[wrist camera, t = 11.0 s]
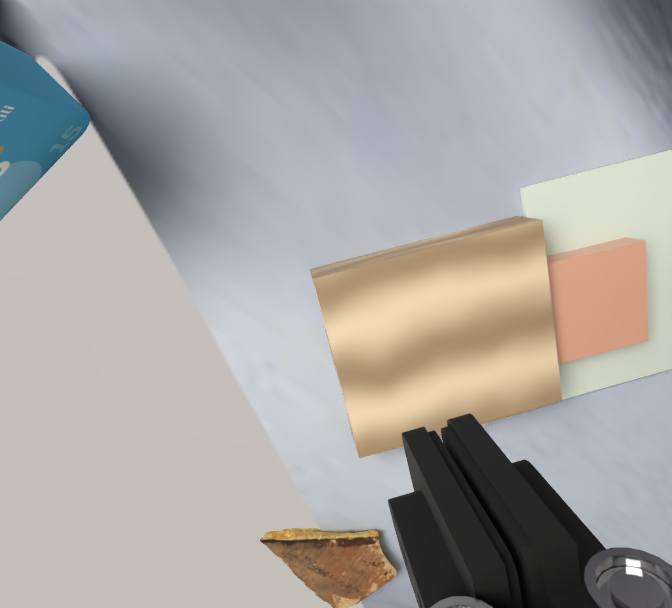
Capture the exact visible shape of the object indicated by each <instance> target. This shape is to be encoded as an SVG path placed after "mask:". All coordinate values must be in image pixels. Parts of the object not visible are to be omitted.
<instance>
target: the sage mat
mask: <svg viewBox="0 0 672 608" xmlns="http://www.w3.org/2000/svg"><path fill="white" fill-rule="evenodd" d="M520 194H521V202H522V210H523V217H527V218H534V219H542V221H543V230H544V239H545V248H546V256H550V255H554V254H558V253H563V252H567V251H571V250H575V249H579V248H583V247H587V246H592V245H596V244H600V243H604V242H608V241H612V240H617V239H621V238H625V237H627V238H634V239H640V240H646V272H647V308H648V341H646V342H642V343H638V344H634V345H630V346H626V347H622V348H618V349H614V350H611V351H607V352H603V353H599V354H595V355H591V356H587V357H583V358H579V359H575V360H571V361H567V362H564V363H560V364H558V366H559V375H560V384H561V393H562V400H563V399H567V398H570V397H574V396H577V395H581V394H584V393H588V392H592V391H595V390H599V389H602V388H606V387H609V386H613V385H616V384H620V383H624V382H627V381H631V380H634V379H638V378H641V377H645V376H648V375H652V374H656V373H659V372H663V371H666V370H670V369H672V149H670V150H667V151H663V152H659V153H655V154H651V155H647V156H643V157H639V158H635V159H631V160H627V161H623V162H619V163H615V164H611V165H608V166H604V167H600V168H596V169H592V170H588V171H584V172H580V173H576V174H572V175H568V176H564V177H560V178H556V179H552V180H549V181H545V182H541V183H537V184H533V185H529V186H525V187H521V188H520Z"/></svg>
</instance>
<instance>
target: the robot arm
mask: <svg viewBox="0 0 672 608" xmlns="http://www.w3.org/2000/svg"><path fill="white" fill-rule="evenodd" d="M441 435H442V440H443V442H442V441H441V439H440V437H439V436H438V434H437V432H436V431H435V430H433V431H429V432H427V430H426V428H425V427H420V428H417V429H413V430H410V431H406V432H403V433H402V440H403V445H404V449H405V453H406V458H407V462H408V466H409V470H410V475H411V479H412V483H413V488H414V492H412V493H409V494H406V495H402V496H399V497H395V498H392V499H389V500H388V503H389V508H390V512H391V516H392V519H393V523H394V527H395V531H396V535H397V538H398V542H399V545H400V549H401V552H402V555H403V559H404V562H405V565H406V568H407V571H408V574H409V578H410V581H411V584H412V587H413V590H414V593H415V596H416V599H417V602H418V605H419V608H672V566H671V565H670V564H668V563H667V562H665V561H664V560H662V559H660V558H659V557H657V556H654V555H652V554H649V553H647V552H644V551H642V550H637V549H631V548H610V549H606V548H605V547H604V546H603V545H602V544H601V543H600V542H599V541H598V539H597V538H596V537H595V536H594V535H593V534H592V533H591V531H590V530H589V529H588V528H587V527H586V526H585V525H584V523H583V522H582V521H581V520H580V519H579V518H578V517H577V515H576V514H575V513H574V512H573V511H572V510H571V509H570V507H569V506H568V505H567V504H566V503H565V502H564V501H563V499H562V498H561V497H560V496H559V495H558V494H557V493H556V491H555V490H554V489H553V488H552V487H551V486H550V485H549V483H548V482H547V481H546V480H545V479H544V478H543V477H542V475H541V474H540V473H539V472H538V471H537V470H536V469H535V467H534V466H533V465H532V464H531V463H530V462H529V461H527V460H521V461H518V462H515V463H511V462H510V461H509V459H508V458H507V457H506V456H505V454H504V453H503V452H502V451H501V449H500V448H499V447H498V446H497V444H496V443H495V442H494V441H493V439H492V438H491V437H490V436H489V435H488V433H487V432H486V431H485V430H484V428H483V427H482V426H481V425H480V423H479V422H478V421H477V420H476V418H475V417H474V416H473V415H472V414H470V413H469V414H465V415H462V416H458V417H455V418H451V419H448V420H447V427H443V428H441Z"/></svg>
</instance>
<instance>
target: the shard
mask: <svg viewBox="0 0 672 608" xmlns="http://www.w3.org/2000/svg"><path fill="white" fill-rule="evenodd" d="M260 541H261V542H262V543H263V544H265V545H266V546H267V547H268V548H269V549H270V550H271V551H272V552H273V553H274V554H275V555H277V556H278V557H279V558H281V559H282V561H284V562H285V564H287V566H289V568H290V569H291V570H292V571H293V572H294V574H295V575H296V576H297V577H298V578H300V579H301V580H302V581H303V582H304V583H305V585H306V586H307V587H308V588H309V589H310V590H312V591H314V593H315V594H316V595H317V596H318V597H320V598H321V599H322V600H323V601H325V602H328V603H329V604H330V605H331V606H332V607H333V608H347V607H350V606H353V605H355V604H357V603H359V602H360V601H361V600H363V599H365V598H366V597H367V596H368V595H369V594H371V593H373V592H374V591H375V590H377V589H378V588H379V587H381V586H382V585H383V584H385V583H387V582H389V581H390V580H391V579H393V578H394V577H395V575H396V573H397V570H396V569H395V568H394V567H393V566H392V565H391V564H390V562H389V561H388V559H387V558H386V557H385V556H384V554H383V551H382V549H381V547H380V544H379V533H378V531H377V530H373V529H371V530H367V531H364V532H362V531H360V532H356V533H350V532H347V533H340V532H327V531H321V530H320V529H318V528H313V529H311V528H309V529H305V528H303V529H302V528H292V529H284V530H281V531H271V532H267V533H266V534H265V538H261V539H260Z"/></svg>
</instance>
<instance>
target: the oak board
mask: <svg viewBox="0 0 672 608" xmlns="http://www.w3.org/2000/svg"><path fill="white" fill-rule="evenodd" d="M310 272H311V275H312V279H313V283H314V287H315V291H316V295H317V299H318V303H319V307H320V310H321V314H322V318H323V322H324V326H325V330H326V334H327V338H328V341H329V345H330V349H331V353H332V357H333V361H334V365H335V369H336V372H337V376H338V380H339V384H340V388H341V392H342V396H343V400H344V404H345V407H346V411H347V415H348V419H349V423H350V427H351V431H352V434H353V438H354V441H355V445H356V448H357V452H358V455H359V458H362V457H365V456H369V455H372V454H376V453H380V452H383V451H387V450H390V449H394V448H397V447H401V446H404V445H403V440H402V433H403V432H406V431H410V430H413V429H417V428H420V427H425V428H426V430H427V432H429V431H433V430H435V431H436V432H437V434H438V436H440V435H441V428H443V427H447V420H448V419H451V418H455V417H458V416H462V415H465V414H469V413H470V414H472V415H473V416H474V417H475V418H476V420H477V421H478V422H479V423H480V424H483V423H486V422H490V421H493V420H497V419H500V418H504V417H508V416H511V415H515V414H518V413H522V412H525V411H529V410H532V409H536V408H540V407H543V406H547V405H550V404H554V403H557V402H561V401H562V393H561V384H560V375H559V366H558V357H557V348H556V339H555V330H554V321H553V312H552V303H551V293H550V284H549V275H548V266H547V257H546V248H545V239H544V230H543V221H542V219H534V218H527V217H519V216H515V217H512V218H508V219H504V220H500V221H496V222H492V223H488V224H484V225H481V226H477V227H473V228H469V229H465V230H461V231H457V232H453V233H449V234H446V235H442V236H438V237H434V238H430V239H426V240H422V241H418V242H415V243H411V244H407V245H403V246H399V247H395V248H391V249H387V250H383V251H380V252H376V253H372V254H368V255H364V256H360V257H356V258H352V259H349V260H345V261H341V262H337V263H333V264H329V265H325V266H321V267H317V268H314V269H310Z"/></svg>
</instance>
